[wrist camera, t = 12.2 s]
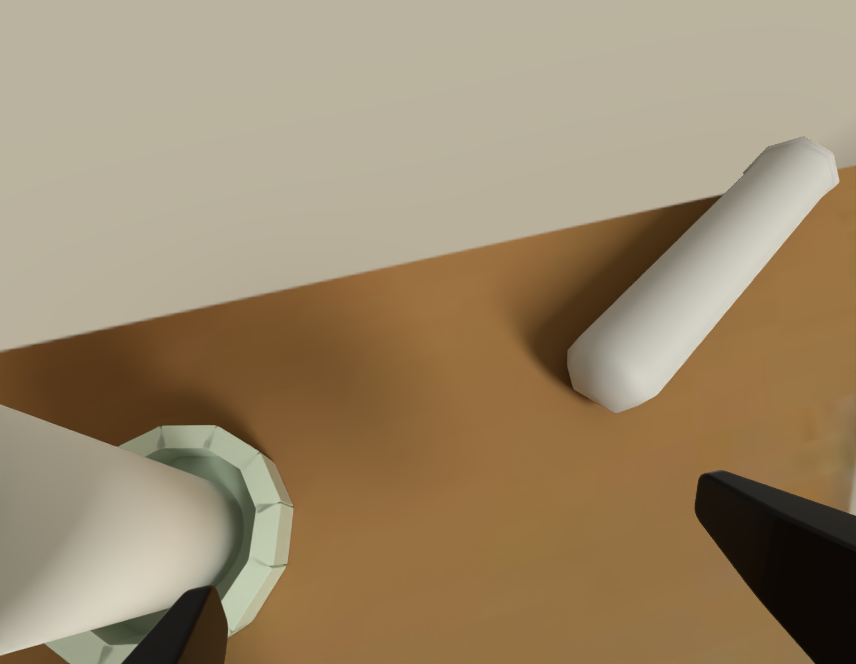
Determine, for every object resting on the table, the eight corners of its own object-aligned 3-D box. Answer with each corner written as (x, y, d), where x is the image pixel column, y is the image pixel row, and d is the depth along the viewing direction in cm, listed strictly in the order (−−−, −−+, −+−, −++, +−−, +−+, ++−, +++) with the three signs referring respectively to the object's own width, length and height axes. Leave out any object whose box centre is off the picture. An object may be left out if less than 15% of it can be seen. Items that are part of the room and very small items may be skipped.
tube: (663, 432, 19) (857, 183, 28) (591, 341, 19) (809, 121, 28) (588, 431, 24) (773, 220, 33) (531, 359, 24) (732, 167, 33)
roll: (199, 627, 17) (-214, 803, 5) (96, 576, 18) (-486, 635, 6) (265, 505, 19) (75, 442, 8) (172, 463, 20) (-139, 343, 8)
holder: (276, 656, 17) (260, 672, 15) (43, 668, 16) (-10, 686, 14) (301, 437, 21) (291, 424, 19) (116, 439, 21) (82, 426, 18)
